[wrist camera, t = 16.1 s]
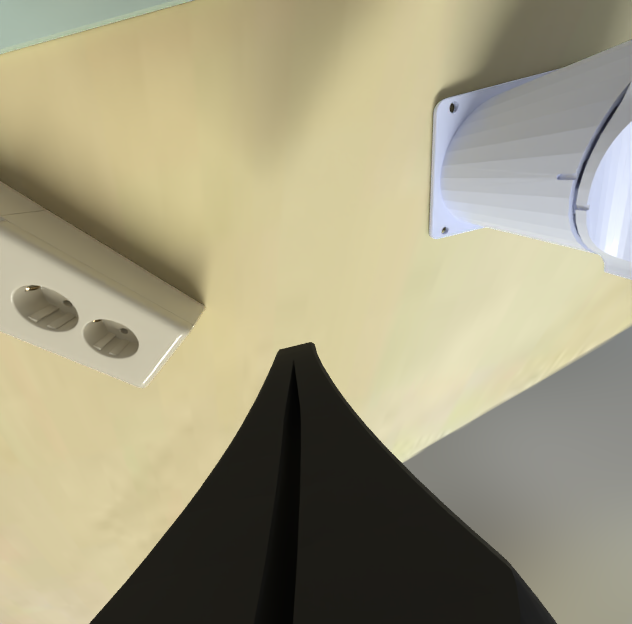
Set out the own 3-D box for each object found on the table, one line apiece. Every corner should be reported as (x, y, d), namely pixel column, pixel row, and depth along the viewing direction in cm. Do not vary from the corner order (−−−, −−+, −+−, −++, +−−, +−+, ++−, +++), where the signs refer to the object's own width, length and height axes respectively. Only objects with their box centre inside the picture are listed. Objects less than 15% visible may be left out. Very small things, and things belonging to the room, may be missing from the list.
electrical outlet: (-286, 75, 8) (189, 333, 15) (-114, 106, 12) (208, 305, 19) (-264, 230, 10) (142, 392, 18) (-125, 217, 14) (167, 357, 21)
